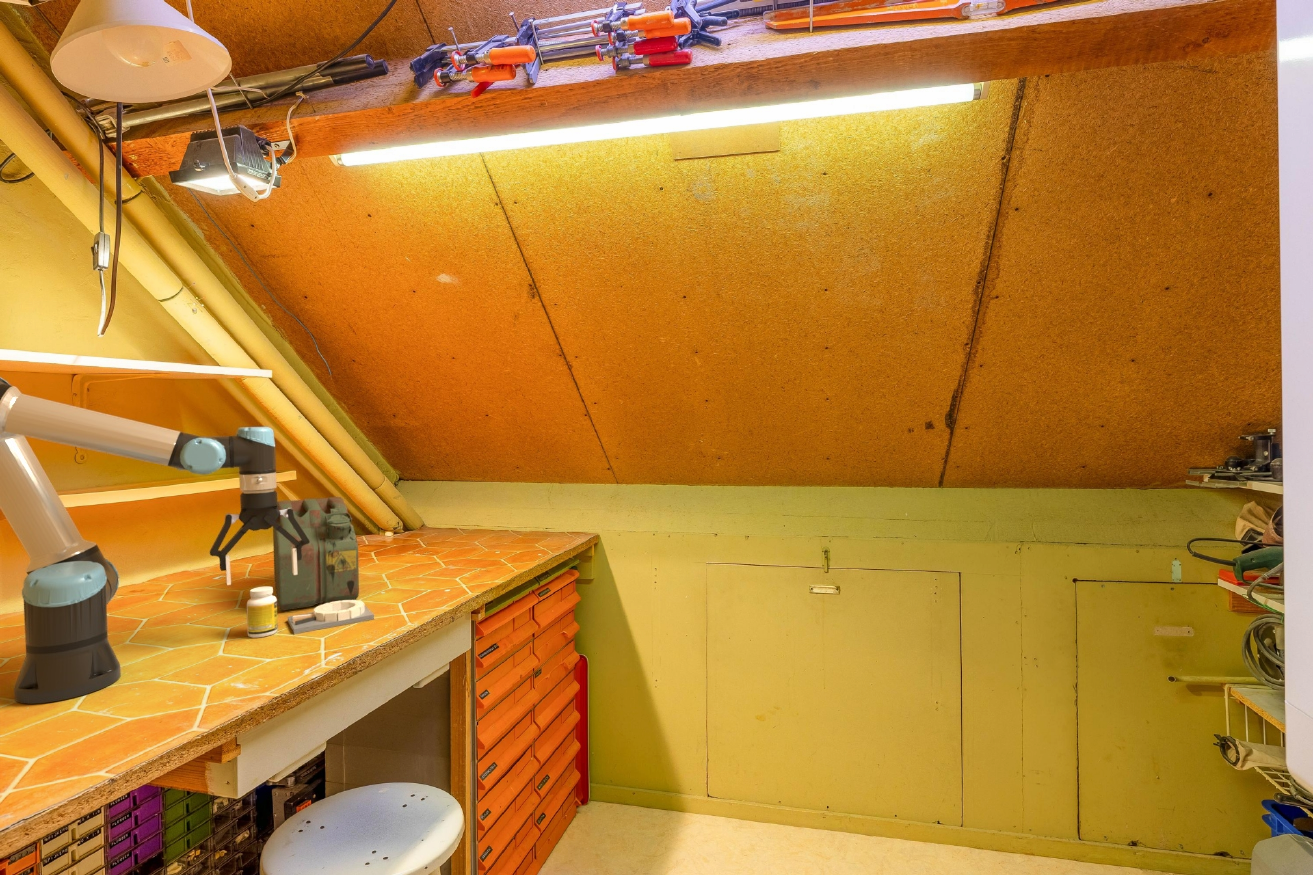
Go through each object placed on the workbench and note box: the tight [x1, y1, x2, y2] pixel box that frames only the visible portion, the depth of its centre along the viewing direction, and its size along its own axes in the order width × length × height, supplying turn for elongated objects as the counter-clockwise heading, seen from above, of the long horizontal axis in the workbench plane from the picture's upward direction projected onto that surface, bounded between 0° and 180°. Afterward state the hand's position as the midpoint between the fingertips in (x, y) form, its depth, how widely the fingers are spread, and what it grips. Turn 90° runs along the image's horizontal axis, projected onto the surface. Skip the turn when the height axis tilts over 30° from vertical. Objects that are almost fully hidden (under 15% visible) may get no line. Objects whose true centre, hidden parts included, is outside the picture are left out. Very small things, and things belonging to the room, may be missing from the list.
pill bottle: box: [246, 586, 279, 639], centre depth 152 cm, size 6×6×11 cm
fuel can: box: [272, 496, 360, 611], centre depth 186 cm, size 19×35×27 cm, turn 33°
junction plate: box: [287, 599, 375, 635], centre depth 162 cm, size 18×12×3 cm, turn 127°
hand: (262, 578), depth 152 cm, fingers open, 13 cm apart
